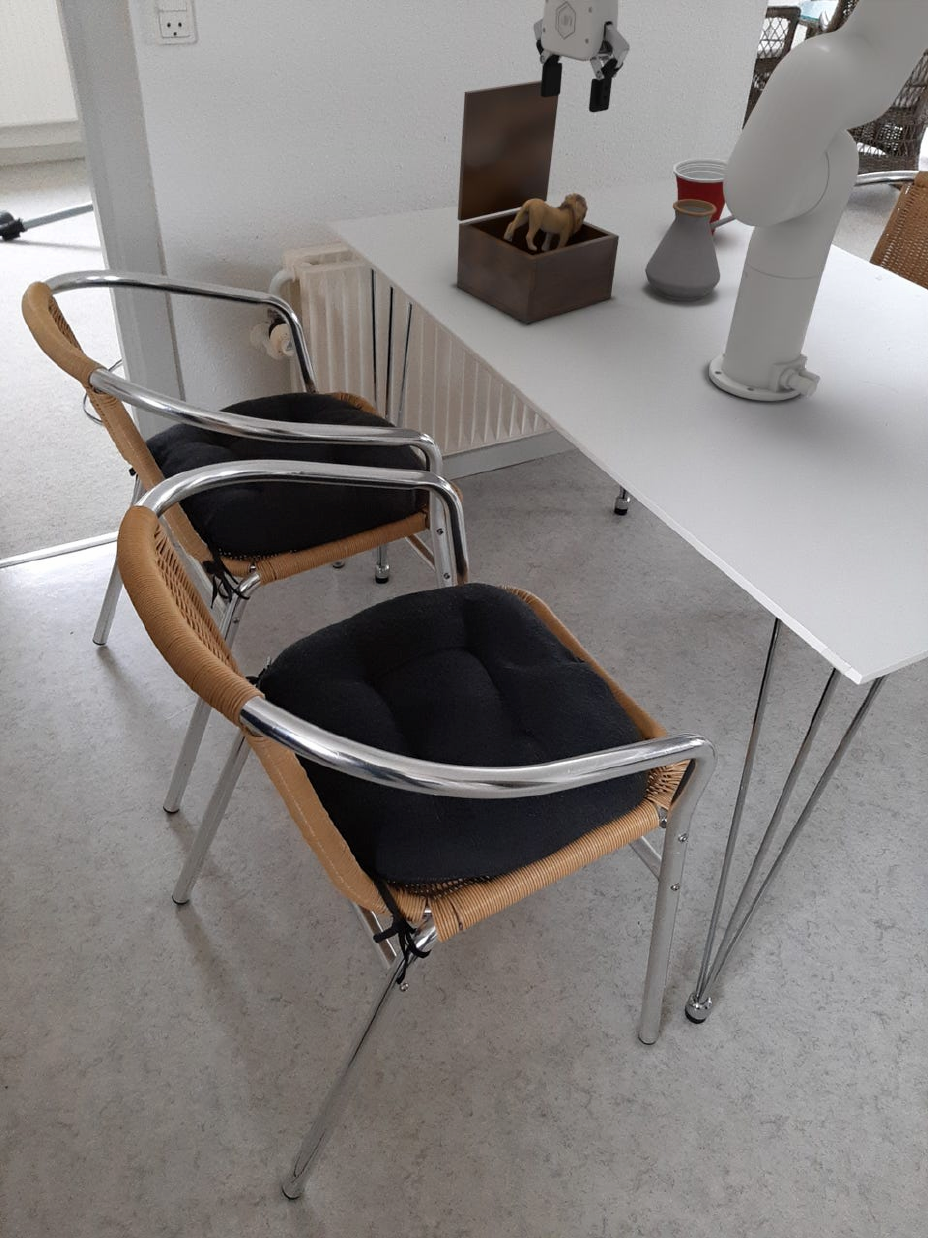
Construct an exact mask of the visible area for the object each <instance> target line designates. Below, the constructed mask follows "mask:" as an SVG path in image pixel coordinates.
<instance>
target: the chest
mask: <svg viewBox="0 0 928 1238" xmlns="http://www.w3.org/2000/svg"><path fill="white" fill-rule="evenodd" d="M519 210H520V209H517V210H516V209H515V210H512V211H508V212H502V213H500V214H495V215H491V216H490V215H489V216H487V217H482V218H478V219H474V220H469V221H466V222H461V223H458V239H457V240H458V245H457V272H456V273H457V275H456V286H457V288H460V289H462V290H463V291H465V292H467V293H469V294H470V295H472V296H473V297H476V298H478V299H479V300H482V301H483V302H485V303H487V304H489V305H490V306H492V307H494V308H496V309H498V310H499V311H502V312H503V313H505V314H507V315H509V316H511V317H512V318H514V319H516V320H518V321H519V322H521V323H523V324H526V325H528V324H531V323H534V322H535V323H536V322H538V321H542V320H545V319H548V318H551V317H554V316H558V315H561V314H564V313H567V312H571V311H575V310H577V309H580V308H584V307H587V306H590V305H593V304H597V303H601V302H604V301H607V300H610V299H611V298H612V297H611V296H612V290H613V284H614V275H615V268H616V261H617V255H618V246H619V239H620V235H618V234H616V233H613V232H611V231H608V230H606V229H604V228H602V227H600V226H597V225H595V224H592V223H590V222H588V221H585V220H584V221H583V223H582V225H581V227H580V229H579V231H578V232H576V233H575V234H574V235H572V236H571V237H569V238H568V241H567V243H566V245H565V246H564V247H563V248H559V249H557V247H558V245H559V241H560V237H559V236H558V235H556V234H555V235H554V236H553V238H552V240H551V244H550V248H549V250H550V251H548V252H545V251H543V250H542V246H543V244H544V242H545V239H546V235H547V233H546V232H544V231H542V230H541V229H540V228H539V229H538V231H537V232H536V234H535V235H534V237H533V245H534V246H535V247H536V248H537V251H533V250H530V249H529V248H528V244H527V239H526V236H527V234H528V232H529V221H527V222H526V223H524V224H523V225H522V226H520V227H518V228H516V229H515V230H514V233H513V237H512V241H508V240H505V239H504V235H505V233H506V230H507V228H508V226H509V224H510V223H512V222H513V221H514V220H515V218H516V216H517V214H518V212H519Z"/></svg>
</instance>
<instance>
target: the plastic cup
mask: <svg viewBox="0 0 928 1238" xmlns="http://www.w3.org/2000/svg"><path fill="white" fill-rule="evenodd" d="M727 163H728V160H725V159H718V158H710V157H697V158H689V159H685V160H681V161H678V162H677V163H675V164H674V165H673V174H674V175H675V178H676V179H675V180H676V181H675V182H676V188H677V201H679V200H687V199H690V200H700V201H705V202H708V203H711V204H713V205H714V206H715V207H716V209H717V210H716V213H714V214H713V215H712V217H711V220H710V222H709V223H712V222H715V221H718V220H720V219H721V216H722V214H723V210H724V208H725V206H726V203H725V199H724V194H723V179H724V173H725V169H726V166H727ZM716 229H717V228H715V229H712V230H711V232H712V237H714V235H715V231H716Z"/></svg>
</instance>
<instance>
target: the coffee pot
mask: <svg viewBox="0 0 928 1238" xmlns="http://www.w3.org/2000/svg"><path fill="white" fill-rule="evenodd" d="M672 208H673V210H674V220H673V221H672V223H671V224H670V226H669V228H667V230H666V233H665V235H664V236H663V238H662V239H661V241H660V242H659V244H658V245H657V248H656V249H655V251H654V252H653V254H652V256H651V257H650V258H649V260H648V262H647V264H646V265H645V269H644V272H645V275H646V279H647V281H648V283H649V284H650V285H651V287H652V288H654V291H655V292H656V293H657V294H658V295H660V296H662V297H664V298H666V299H670V300H674V301H675V300H676V301H687V302H688V301H695V300H696V301H697V300H699V299H701V298H703V297H704V296H705V295H707V294H709V293H710V292H712V291H713V290H714V288H716V286H717V285H718V284H719V282H720V281H721V272H720V271H721V270H720V266H719V262H718V258H717V252H716V247H715V242H714V238H713V237H714V236H713V237H712V232H711V230H712V229H715V228H716V229H717V228H719V227H721V226H724V225H726V224H728V223H731V222H733V221H736V220H737V219H736V218H735V217H733V215H732V214H731V215H728V216H725V217H723V218H720V219H719V220H718V221H715V222H712V223H709V222H710V220H711V217H712V215H713V214H714V213H716V210H717V209H716V207H715V206H714V205H713V204H711V203H708V202H705V201H700V200H690V199H687V200H679V201H678V200H676V201H674V202H673V203H672ZM716 229H715V230H716Z"/></svg>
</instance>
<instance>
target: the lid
mask: <svg viewBox="0 0 928 1238" xmlns="http://www.w3.org/2000/svg"><path fill="white" fill-rule="evenodd" d="M541 81H542V79H541V80H534V81H527V82H522V83H513V84H507V85H502V86H495V87H488V88H480V89H473V90H468V91H464V96H463V97H464V98H463V118H462V132H461V134H462V135H461V149H460V151H461V152H460V166H459V167H460V169H459V171H460V172H459V186H458V187H459V188H458V204H457V220H458V221H460V222H463V221H467V220H472V219H476V218H480V217H485V216H490V215H494V214H497V213H503V212H506V211H510V210H514V209H515V210H516V209H521V207H522V206H523V205H524V204H525V202H526V201H528V200H530V199H541V200H543V201H544V202H545V203H546V202H547V200H548V193H549V192H548V191H549V183H550V175H551V165H552V159H553V149H554V138H555V132H556V131H555V129H556V121H557V113H558V106H559V105H558V104H559V95H560V94H559V95H557V96H551V97H542V96H541Z"/></svg>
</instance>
